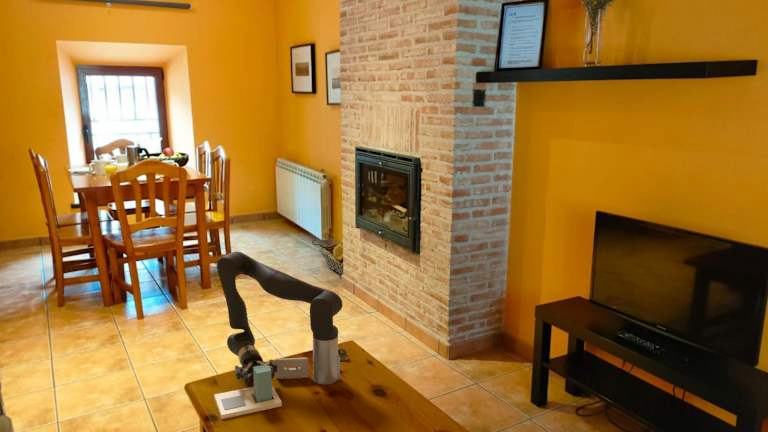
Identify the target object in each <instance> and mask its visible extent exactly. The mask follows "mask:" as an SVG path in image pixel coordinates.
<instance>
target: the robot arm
mask: <svg viewBox="0 0 768 432" xmlns="http://www.w3.org/2000/svg"><path fill="white" fill-rule="evenodd" d="M216 271H217V274H218V277H219V281H220V285H221V288H222V291H223V294H224V297H225V301H226V302H225V303H226V306H227V312H228V313H227V314H228V322H229V326H230V328H231V329H233V330H243V331H241V332H237V333H233V334H230V335H229V336H228V337H227V340H226V345H227V348H228V350H229V351H230V352H231V353H233V354H234V355H235V356H237V357H238V360H239V364H240V365H241V366H239V365H235V366H234V374H235V377H236V380H241V379H242V380H243V382H244V383H246V384H249V383H250V376H251V375H253V367H255V366H261V365H266V364H268V366H269V368H270V369H271V380H272V379H274V378H276V372H277V365H276V361H274V360H273V359H269V361H267V362H266V361H264V359H263V357H262V356H261V354H260V352H259V350H258V349H257V348H256V346H255V344H256V338H255V336H254V333H253V331H252V330H251V327H250V325H249V321H248V320H249V319H248V311H247V307H246V303H245V300H244V299H243V297H242V296H241V295H240V293H239V292H238V289H237V285H236V284H237V283H236V277H238V276H240V275H244V276H247V277H250V278H252V279H254V280H255V281H256V282H257V283H258V284H259V286H260V287H261V288H262V289H263V291H265V292H266V293H267V294H270V295H271V296H273V297H276V298H278V299H282V300H285V301H286V300H287V301H296V302H303V303H304V302H305V303H307V304H309V322H310V329H311V331H312V379H313V381H314V383H316V384H318V385H332V384H334V383H336V382H337V381H340V379H341V369H340V368H341V361H340V356H339V355H338V349H339V328H338V327H337V326H336V325H334V316H336V315H338V313H340V311H342V309H343V300H342V298H341V297H340V296H339V294H338V293H336V292H334V291H332V290H329V289H327V288H323V287H319V286H315V285H313V284H310V283H308V282H307V281H304V280H301V279H298V278H296V277H294V276H291V275H290V274H287V273H285V272H283V271H280V270H278V269H275V268H273V267H270V266H268V265H266V264H263V263H262V262H260V261H257V260H255V258H253V257H251V256H249V255H248V254H245V253H243V252H241V251H231V252H230V253H227V254H225V255H223V256H221V257H220V258H219V259H218V260H217V262H216Z"/></svg>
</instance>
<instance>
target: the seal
mask: <svg viewBox="0 0 768 432" xmlns="http://www.w3.org/2000/svg"><path fill="white" fill-rule="evenodd" d="M338 355H339V356H340V362H344V361H348V360H349V355H348V351H347V349H346V348H339V347H338Z"/></svg>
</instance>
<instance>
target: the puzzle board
mask: <svg viewBox="0 0 768 432" xmlns="http://www.w3.org/2000/svg"><path fill="white" fill-rule="evenodd" d="M213 399H214V402H215V405H216V407H217V411H218V412H219V416H220V418H221V420H225V419H228V418H229V419H230V418H233V417H238V416H242V415H247V414H252V413H256V412H260V411H266V410H270V409H274V408H275V409H276V408H279V407H283V403H282V400H281V398H280V397H279V395H278V393H277V391H276V389H275V388H274V386H273V385H272V400H269V401H264V402H259V403H256V402H255V400H254V386H251V387H246V388H240V389H235V390H230V391H226V392H220V393H215V394H213Z"/></svg>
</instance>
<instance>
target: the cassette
mask: <svg viewBox="0 0 768 432" xmlns="http://www.w3.org/2000/svg"><path fill="white" fill-rule="evenodd" d="M275 364H276V365H277V372H276V373H275V378H276V380H277V379H279V380H280V379H281V380H283V379H285V380H287V379H289V380H290V379H303V378H309V358H308V357H290V358H276V359H275Z"/></svg>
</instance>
